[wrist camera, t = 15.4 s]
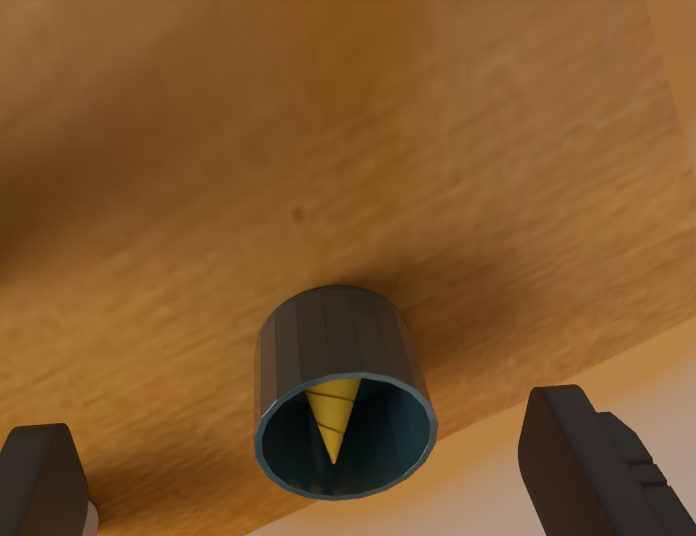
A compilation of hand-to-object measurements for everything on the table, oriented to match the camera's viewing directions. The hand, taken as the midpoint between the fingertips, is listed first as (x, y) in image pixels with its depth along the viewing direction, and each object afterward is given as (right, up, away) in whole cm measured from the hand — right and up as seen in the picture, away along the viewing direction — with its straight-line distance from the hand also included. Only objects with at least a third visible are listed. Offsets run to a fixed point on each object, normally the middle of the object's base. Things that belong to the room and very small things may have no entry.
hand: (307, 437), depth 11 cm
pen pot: (0, -3, +36) cm, 36 cm away
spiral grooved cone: (0, -3, +35) cm, 35 cm away
